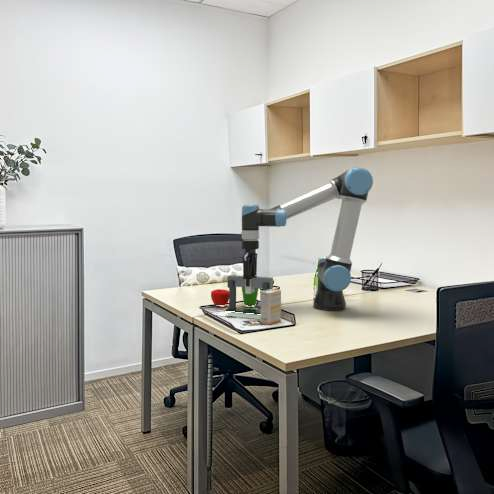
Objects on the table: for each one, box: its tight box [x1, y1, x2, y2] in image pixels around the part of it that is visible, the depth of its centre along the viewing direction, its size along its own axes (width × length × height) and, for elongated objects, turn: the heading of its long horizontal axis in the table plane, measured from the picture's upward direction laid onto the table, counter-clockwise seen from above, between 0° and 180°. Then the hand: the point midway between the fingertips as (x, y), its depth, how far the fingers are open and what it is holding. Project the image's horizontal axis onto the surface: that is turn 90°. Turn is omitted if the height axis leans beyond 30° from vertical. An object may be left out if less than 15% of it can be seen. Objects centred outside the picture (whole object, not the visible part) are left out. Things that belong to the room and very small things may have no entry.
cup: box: [241, 287, 259, 306], centre depth 235 cm, size 9×9×11 cm
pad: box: [226, 312, 261, 321], centre depth 215 cm, size 22×7×1 cm, turn 70°
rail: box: [227, 274, 274, 289], centre depth 221 cm, size 20×4×4 cm, turn 70°
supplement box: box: [259, 288, 282, 326], centre depth 204 cm, size 8×5×13 cm, turn 141°
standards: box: [224, 281, 270, 314], centre depth 222 cm, size 21×6×14 cm, turn 70°
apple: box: [210, 288, 229, 306], centre depth 235 cm, size 9×9×8 cm
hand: (249, 292), depth 222 cm, fingers closed on rail, 3 cm apart
